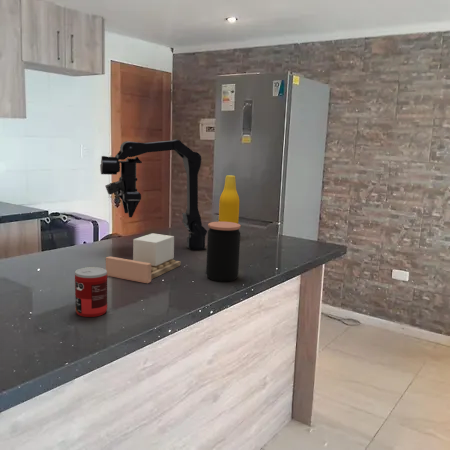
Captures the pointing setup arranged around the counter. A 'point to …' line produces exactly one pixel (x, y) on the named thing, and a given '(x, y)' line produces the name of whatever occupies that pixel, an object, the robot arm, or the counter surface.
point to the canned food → (91, 291)
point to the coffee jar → (223, 251)
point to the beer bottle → (229, 202)
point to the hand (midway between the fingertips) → (128, 215)
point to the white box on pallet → (153, 249)
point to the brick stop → (128, 269)
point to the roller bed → (163, 268)
